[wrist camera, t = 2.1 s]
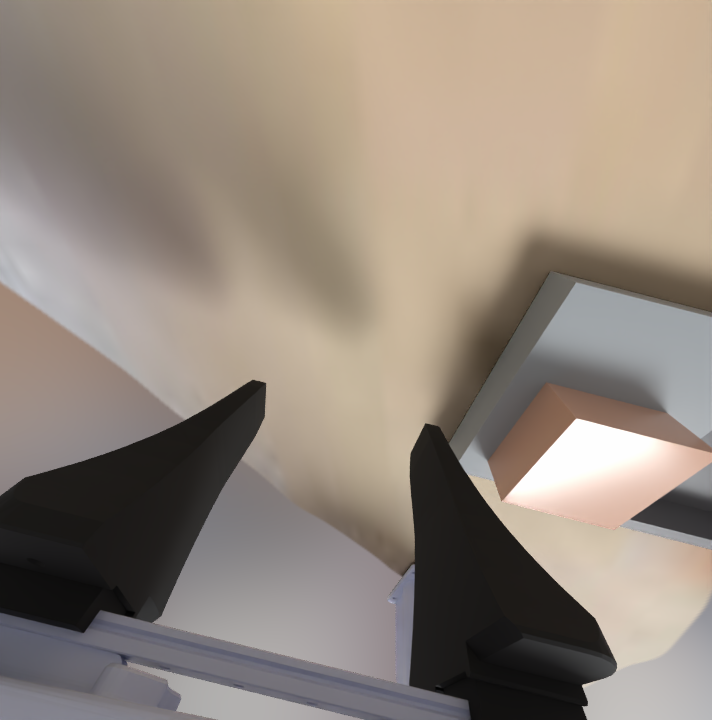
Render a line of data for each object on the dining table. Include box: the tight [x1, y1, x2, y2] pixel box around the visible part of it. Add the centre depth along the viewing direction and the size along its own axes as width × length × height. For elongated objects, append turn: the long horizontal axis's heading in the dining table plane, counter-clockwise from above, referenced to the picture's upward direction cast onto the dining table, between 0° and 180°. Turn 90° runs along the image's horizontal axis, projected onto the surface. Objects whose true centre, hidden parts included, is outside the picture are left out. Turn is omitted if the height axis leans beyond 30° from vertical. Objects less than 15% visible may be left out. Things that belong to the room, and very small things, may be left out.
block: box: [487, 382, 712, 530], centre depth 13 cm, size 6×6×2 cm
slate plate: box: [449, 271, 712, 481], centre depth 14 cm, size 12×10×2 cm
